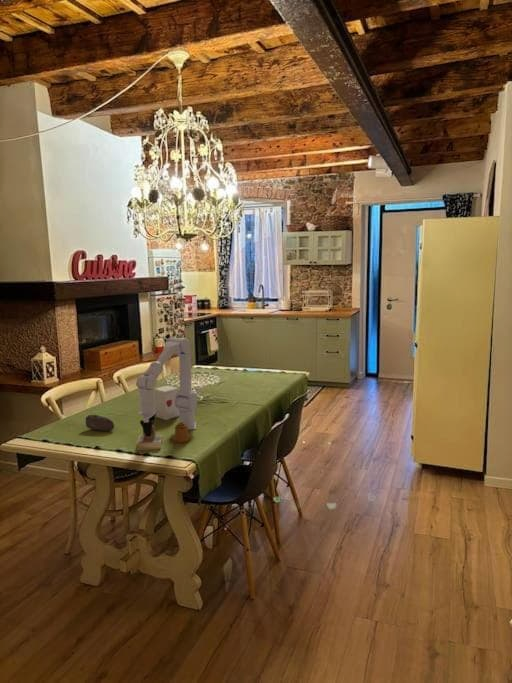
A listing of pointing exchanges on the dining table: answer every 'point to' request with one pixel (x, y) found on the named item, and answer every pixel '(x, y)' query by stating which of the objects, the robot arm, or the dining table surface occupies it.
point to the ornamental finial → (181, 433)
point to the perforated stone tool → (99, 423)
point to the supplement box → (165, 402)
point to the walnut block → (151, 434)
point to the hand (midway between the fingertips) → (149, 433)
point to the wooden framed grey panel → (150, 443)
